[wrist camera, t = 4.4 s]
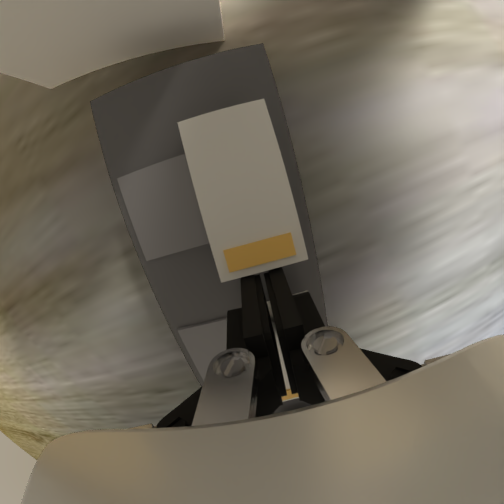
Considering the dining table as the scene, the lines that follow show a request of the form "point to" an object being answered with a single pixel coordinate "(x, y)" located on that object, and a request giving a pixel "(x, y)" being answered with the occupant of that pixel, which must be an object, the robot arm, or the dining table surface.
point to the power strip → (191, 192)
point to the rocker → (242, 190)
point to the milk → (97, 34)
